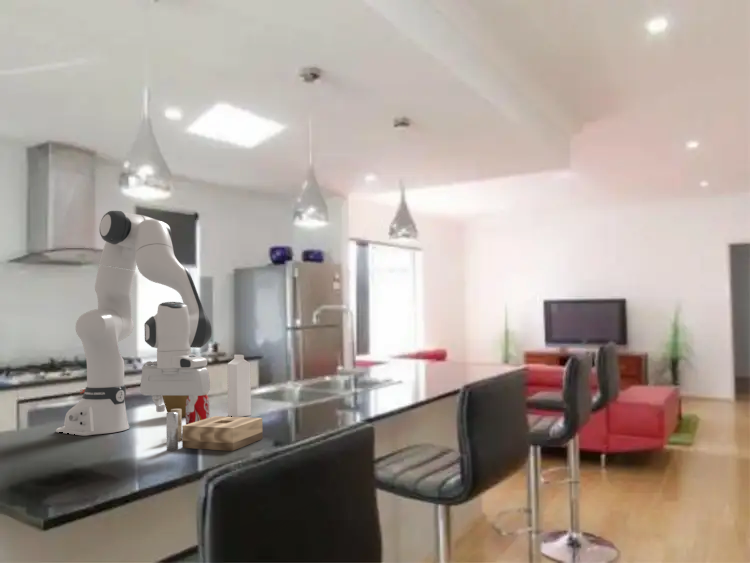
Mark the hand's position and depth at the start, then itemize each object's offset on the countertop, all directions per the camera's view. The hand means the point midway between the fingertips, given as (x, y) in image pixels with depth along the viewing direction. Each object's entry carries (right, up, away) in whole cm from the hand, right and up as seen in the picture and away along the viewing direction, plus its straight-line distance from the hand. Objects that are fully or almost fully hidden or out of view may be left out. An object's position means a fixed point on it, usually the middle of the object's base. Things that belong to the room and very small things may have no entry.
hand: (175, 411), depth 164 cm
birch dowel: (-4, -11, +12) cm, 17 cm away
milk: (+5, -13, +54) cm, 56 cm away
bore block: (+12, -10, +7) cm, 17 cm away
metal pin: (-1, -10, -1) cm, 10 cm away
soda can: (-1, -12, +24) cm, 26 cm away
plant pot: (-17, -14, +55) cm, 59 cm away
